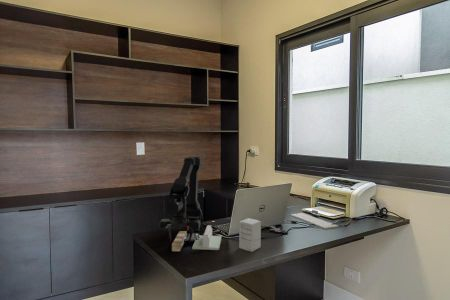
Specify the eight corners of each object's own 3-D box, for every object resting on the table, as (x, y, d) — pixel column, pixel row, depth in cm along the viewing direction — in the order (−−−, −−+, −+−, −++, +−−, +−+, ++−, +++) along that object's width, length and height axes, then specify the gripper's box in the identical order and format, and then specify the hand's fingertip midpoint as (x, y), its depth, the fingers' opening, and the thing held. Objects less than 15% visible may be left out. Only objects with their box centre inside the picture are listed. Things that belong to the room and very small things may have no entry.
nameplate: (293, 231, 166) (278, 233, 161) (293, 233, 166) (278, 236, 161) (262, 218, 190) (249, 220, 185) (262, 220, 190) (248, 223, 185)
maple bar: (179, 238, 157) (179, 231, 157) (186, 238, 157) (186, 231, 157) (171, 251, 139) (172, 244, 139) (179, 251, 139) (179, 244, 139)
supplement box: (247, 243, 150) (248, 217, 149) (261, 247, 145) (261, 220, 144) (238, 248, 144) (239, 221, 143) (251, 252, 139) (252, 224, 138)
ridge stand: (197, 237, 158) (197, 224, 157) (221, 238, 157) (221, 225, 157) (192, 249, 142) (192, 234, 142) (218, 249, 141) (219, 235, 141)
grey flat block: (305, 214, 207) (290, 216, 201) (305, 210, 206) (290, 212, 201) (341, 227, 179) (325, 230, 174) (341, 222, 179) (325, 225, 173)
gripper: (155, 212, 140) (155, 247, 141) (197, 214, 139) (196, 248, 140) (162, 206, 151) (162, 238, 152) (200, 208, 150) (200, 240, 151)
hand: (179, 241), depth 148 cm, fingers open, 9 cm apart
